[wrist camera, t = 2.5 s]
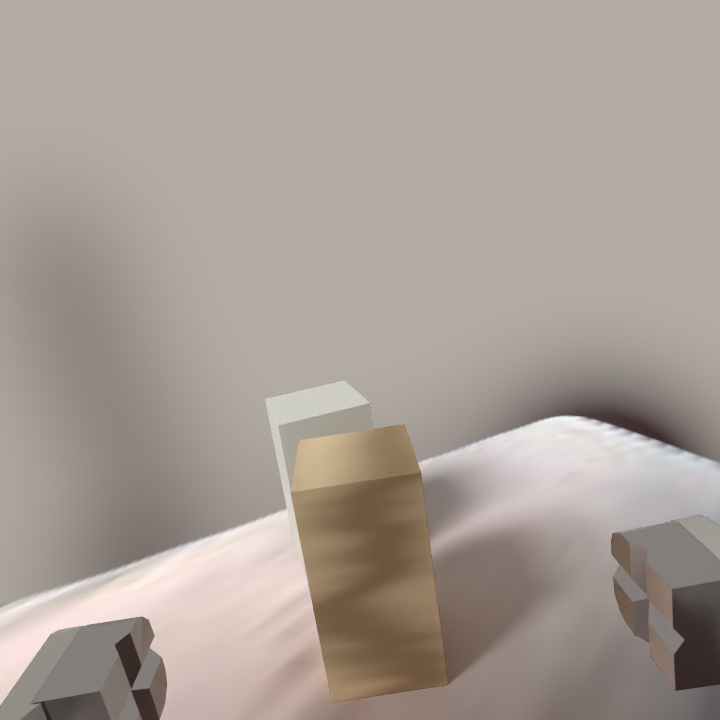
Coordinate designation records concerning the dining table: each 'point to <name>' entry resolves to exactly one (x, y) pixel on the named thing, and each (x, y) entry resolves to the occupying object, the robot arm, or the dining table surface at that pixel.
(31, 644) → the dining table surface
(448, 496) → the dining table surface
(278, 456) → the grey block
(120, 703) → the robot arm
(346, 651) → the oak block
